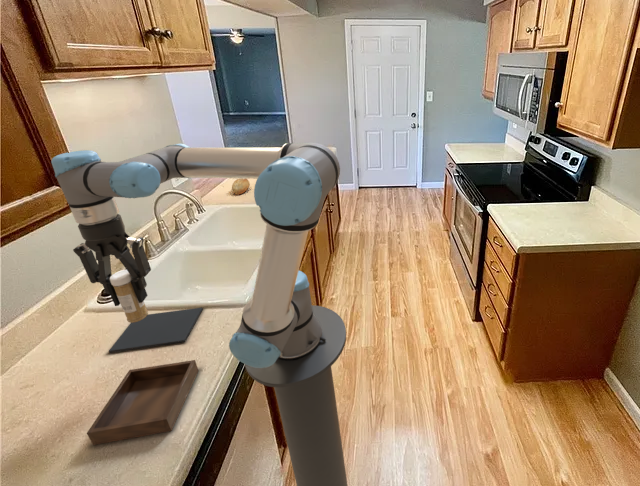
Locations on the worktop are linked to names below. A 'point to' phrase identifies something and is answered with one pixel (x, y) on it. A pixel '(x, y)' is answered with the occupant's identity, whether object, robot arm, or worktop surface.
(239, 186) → the bread roll
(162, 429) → the tray
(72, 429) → the worktop surface
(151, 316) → the mat
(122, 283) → the sprinkles bottle
